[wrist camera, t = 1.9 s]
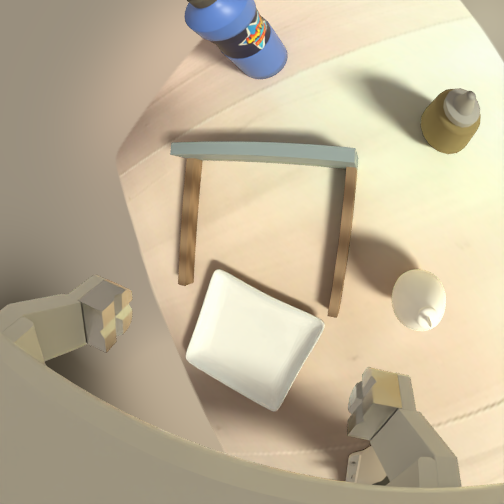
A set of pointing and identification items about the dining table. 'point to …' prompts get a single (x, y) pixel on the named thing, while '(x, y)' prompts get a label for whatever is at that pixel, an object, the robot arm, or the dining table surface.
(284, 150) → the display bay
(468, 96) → the squeeze bottle
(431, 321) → the white dust blower
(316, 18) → the dining table surface
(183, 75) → the dining table surface
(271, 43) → the water bottle
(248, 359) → the salad plate
